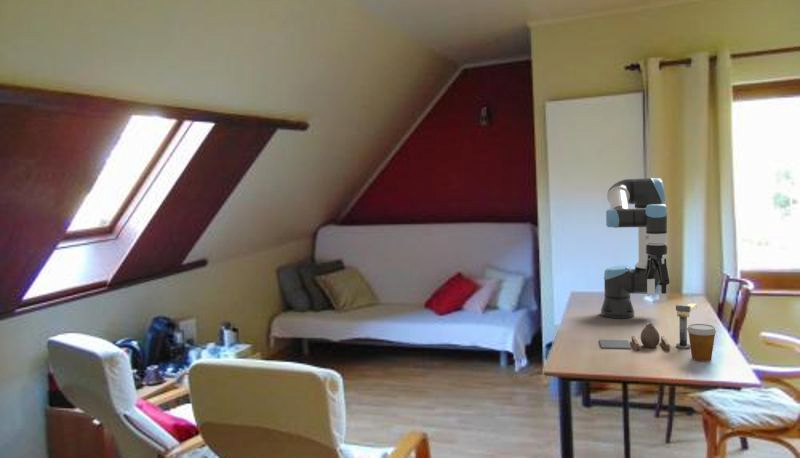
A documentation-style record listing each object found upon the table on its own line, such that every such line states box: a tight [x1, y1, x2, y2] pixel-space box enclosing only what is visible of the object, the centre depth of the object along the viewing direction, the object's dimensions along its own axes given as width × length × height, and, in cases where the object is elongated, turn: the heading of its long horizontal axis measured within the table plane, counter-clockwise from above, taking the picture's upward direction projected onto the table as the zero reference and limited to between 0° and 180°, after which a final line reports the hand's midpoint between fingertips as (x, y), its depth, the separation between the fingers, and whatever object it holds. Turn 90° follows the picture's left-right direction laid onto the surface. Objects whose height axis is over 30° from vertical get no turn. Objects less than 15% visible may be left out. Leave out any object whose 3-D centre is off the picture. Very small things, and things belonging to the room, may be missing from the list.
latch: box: [675, 302, 697, 318], centre depth 240 cm, size 5×18×4 cm, turn 141°
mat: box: [598, 339, 632, 350], centre depth 243 cm, size 11×11×1 cm
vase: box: [640, 323, 661, 349], centre depth 238 cm, size 7×7×9 cm
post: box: [675, 317, 691, 350], centre depth 235 cm, size 5×5×12 cm
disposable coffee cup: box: [687, 323, 717, 362], centre depth 220 cm, size 10×10×12 cm
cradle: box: [631, 335, 671, 352], centre depth 239 cm, size 12×12×2 cm
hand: (656, 298), depth 238 cm, fingers open, 13 cm apart
